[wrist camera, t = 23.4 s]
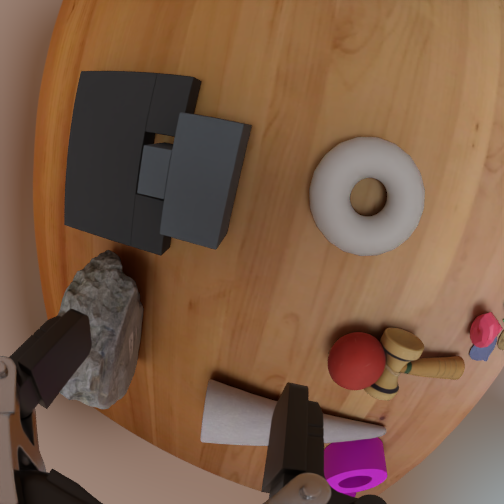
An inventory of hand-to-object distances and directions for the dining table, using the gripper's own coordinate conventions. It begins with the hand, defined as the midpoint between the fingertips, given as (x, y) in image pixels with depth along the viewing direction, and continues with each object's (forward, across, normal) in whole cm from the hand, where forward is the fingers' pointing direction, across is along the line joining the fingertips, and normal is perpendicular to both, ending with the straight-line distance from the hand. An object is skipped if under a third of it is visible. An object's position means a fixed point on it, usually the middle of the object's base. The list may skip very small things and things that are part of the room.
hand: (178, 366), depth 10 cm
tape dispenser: (+18, -25, +34) cm, 46 cm away
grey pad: (+18, +6, -3) cm, 19 cm away
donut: (+18, -9, -6) cm, 21 cm away
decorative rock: (+18, +11, +14) cm, 25 cm away
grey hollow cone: (+18, -13, +22) cm, 31 cm away
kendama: (+18, -20, +10) cm, 29 cm away
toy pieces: (+18, -33, +4) cm, 38 cm away
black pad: (+18, +13, -4) cm, 23 cm away
